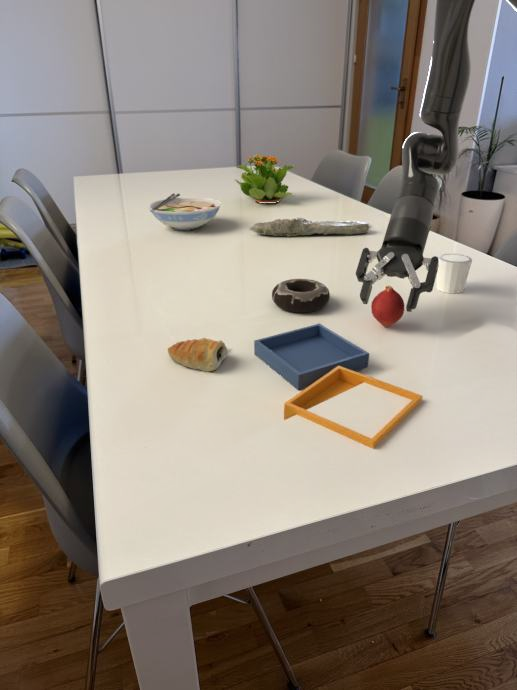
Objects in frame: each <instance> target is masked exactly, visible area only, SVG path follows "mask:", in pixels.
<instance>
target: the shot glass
mask: <svg viewBox="0 0 517 690" xmlns="http://www.w3.org/2000/svg"><path fill="white" fill-rule="evenodd" d="M437 257H438V260H439V267H438V271H437V275H436V289H437V290H438V291H439V292H442V293H446V294H460V293H463V292H464V290H465V287H466V284H467V280H468V276H469V273H470V269H471V266H472V263H473V259H472V257H471V256H468V255H465V254H461V253H452V252H451V253H442V254H439V255H438V256H437Z"/></svg>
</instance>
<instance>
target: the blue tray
mask: <svg viewBox="0 0 517 690" xmlns="http://www.w3.org/2000/svg"><path fill="white" fill-rule="evenodd" d="M253 342H254V343H253V347H254V349H253V350H254V352H253V353H254V356H256V357H257V356H258V357H259V358H258V357H257V358H258V359H259V360H261V361H262V360H263V361H264V362H265V363H264V362H263V361H262V362H263V363H264V364H265V365H266V366H268V365H269V366H270V367H271V368H270V367H269V366H268V367H269V368H270V369H271V370H273V371H274V370H275V371H276V372H275V371H274V372H275V373H276V374H277V375H279V376H280V375H281V376H282V377H281V376H280V377H281V378H282V379H284V380H285V381H286V382H287V383H288V384H289V385H291V386H292V387H293V388H295V389H296V390H297V391H302V390H304V389H306V388H307V387H309V386H310V385H311V384H313V383H314V382H316V381H317V380H319V379H320V378H321V377H323V376H324V375H326V374H327V373H329V372H330V371H331V370H333V369H334V368H336V367H337V366H341V367H344V368H347V369H349V370H352V371H355V372H359V371H362V370H365V369H368V368H369V361H370V360H369V359H370V353H369V352H368V351H366V350H364V349H363V348H361V347H359V346H358V345H357V344H354V343H353V342H351V341H349V340H348V339H346V338H345V337H343V336H341V335H340V334H339V333H336V332H335V331H333V330H331V329H330V328H328V327H326V326H325V325H323V324H321V323H315V324H312V325H308V326H305V327H304V326H303V327H301V328H300V327H299V328H297V329H293V330H289V331H285V332H281V333H278V334H274V335H270V336H267V337H262V338H258V339H254V340H253Z"/></svg>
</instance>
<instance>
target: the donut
mask: <svg viewBox="0 0 517 690" xmlns="http://www.w3.org/2000/svg"><path fill="white" fill-rule="evenodd" d="M330 298H331V294H330V290H329V288H328V287H327V286H326V285H325V284H324V283H323V282H320V281H318V280H315V279H310V278H292V279H287V280H283V281H281V282H279V283H277V284H276V285H275V286H274V287H273V289H272V291H271V300H272V301H273V303H274V304H275V306H277V307H278V308H280V309H281V310H283V311H287V312H291V313H301V314H303V313H310V312H317V311H319V310H321V309H323V308H324V307H325V306H327V304H328V303H329V301H330Z"/></svg>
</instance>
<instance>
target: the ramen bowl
mask: <svg viewBox="0 0 517 690" xmlns="http://www.w3.org/2000/svg"><path fill="white" fill-rule="evenodd" d="M221 205H222V202H221V201H220V200H218V199H216V198H215V199H214V198H208V197H197V196H196V197H195V196H191V197H181V194H180V193H177V194H176V193H171V194H170V195H169V196H168V197H166V198H165V199H160V200H156V201H153V202H150V203H149V204H148V205H147V208H148V209H149V211H150V213H151V214H152V215H153V216H154V217H155V219H157V220H158V221H159V223H161V224H163V225H165V226H168V227H171V228H174V229H176V230H178V231H192V230H196V229H198V228H199V227H202V226H203V225H205V224H207V223H209V222H211V221H212V220H213V219H214V218H216V215H217V214H218V212H219V210H220V208H221ZM195 228H196V229H195ZM191 229H192V230H191Z"/></svg>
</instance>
